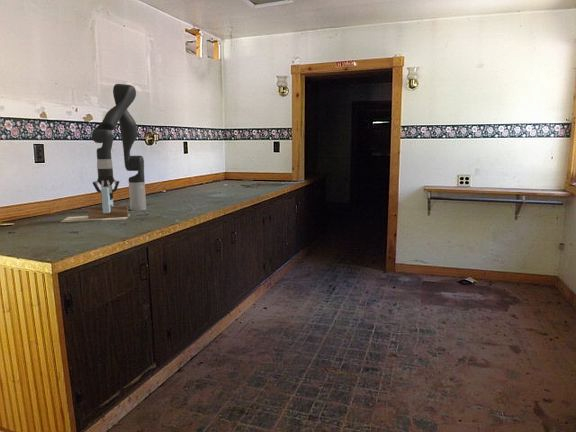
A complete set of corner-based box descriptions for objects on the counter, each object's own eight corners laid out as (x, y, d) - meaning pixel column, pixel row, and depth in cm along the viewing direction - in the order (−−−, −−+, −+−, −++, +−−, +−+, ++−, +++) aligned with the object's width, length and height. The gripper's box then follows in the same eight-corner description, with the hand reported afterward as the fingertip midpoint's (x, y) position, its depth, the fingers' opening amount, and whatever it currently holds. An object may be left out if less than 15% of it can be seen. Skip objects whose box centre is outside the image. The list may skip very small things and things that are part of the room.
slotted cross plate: (107, 209, 239) (105, 186, 236) (113, 209, 239) (111, 185, 237) (102, 213, 225) (101, 188, 223) (109, 213, 226) (107, 188, 224)
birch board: (68, 218, 236) (68, 216, 236) (130, 215, 243) (130, 214, 243) (60, 223, 221) (60, 221, 220) (126, 220, 228) (126, 219, 227)
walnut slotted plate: (89, 217, 232) (88, 206, 231) (128, 216, 236) (127, 205, 235) (88, 218, 230) (87, 207, 229) (127, 216, 234) (127, 206, 233)
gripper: (120, 167, 233) (122, 198, 236) (92, 167, 230) (94, 199, 233) (117, 167, 226) (120, 200, 229) (89, 168, 223) (92, 201, 226)
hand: (107, 199), depth 231 cm, fingers closed on slotted cross plate, 3 cm apart
